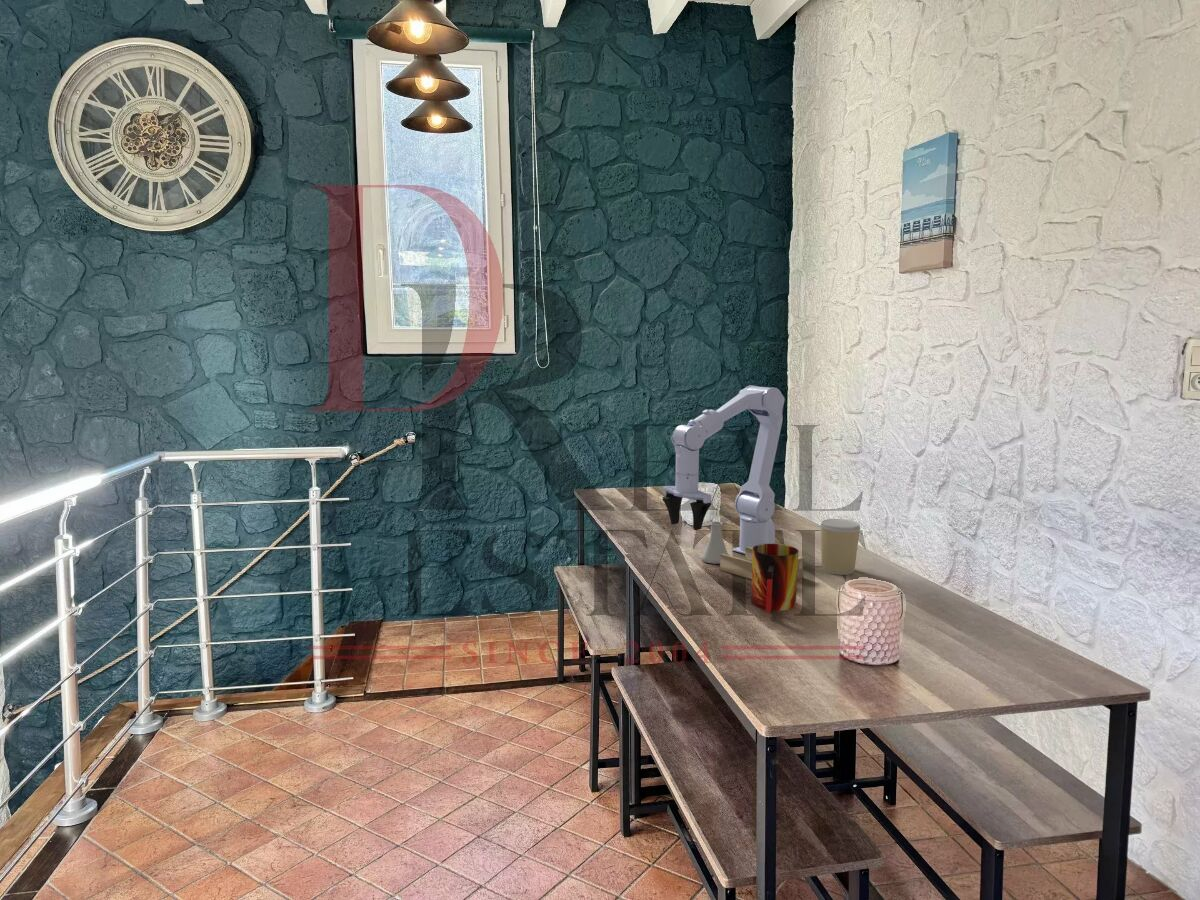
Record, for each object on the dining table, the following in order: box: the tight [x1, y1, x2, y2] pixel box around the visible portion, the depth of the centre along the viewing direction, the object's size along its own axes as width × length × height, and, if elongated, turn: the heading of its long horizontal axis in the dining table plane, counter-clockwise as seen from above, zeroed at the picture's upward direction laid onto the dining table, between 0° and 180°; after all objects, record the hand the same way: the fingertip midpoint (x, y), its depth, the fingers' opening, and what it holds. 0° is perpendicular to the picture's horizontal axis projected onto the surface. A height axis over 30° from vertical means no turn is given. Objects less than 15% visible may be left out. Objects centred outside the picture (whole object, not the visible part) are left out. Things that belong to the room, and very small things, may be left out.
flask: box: [701, 521, 729, 565], centre depth 206 cm, size 7×7×10 cm
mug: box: [750, 543, 799, 614], centre depth 172 cm, size 10×14×12 cm
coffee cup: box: [820, 518, 861, 576], centre depth 198 cm, size 9×9×12 cm
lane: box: [719, 547, 805, 581], centre depth 195 cm, size 11×17×5 cm, turn 41°
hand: (686, 526), depth 202 cm, fingers open, 7 cm apart
